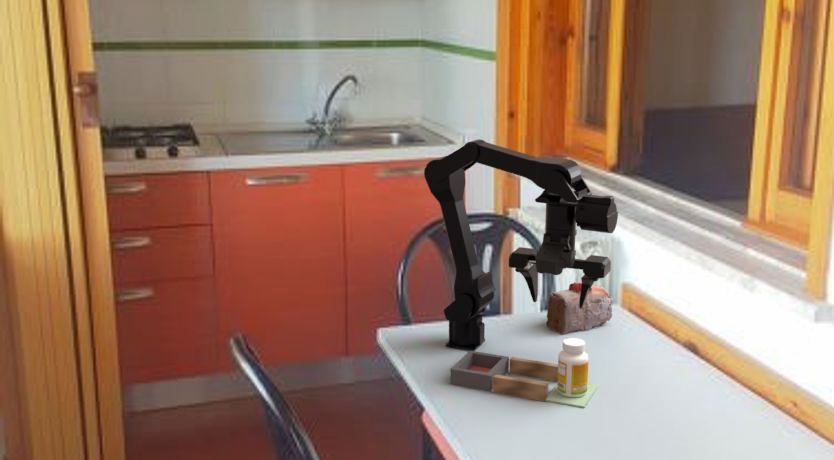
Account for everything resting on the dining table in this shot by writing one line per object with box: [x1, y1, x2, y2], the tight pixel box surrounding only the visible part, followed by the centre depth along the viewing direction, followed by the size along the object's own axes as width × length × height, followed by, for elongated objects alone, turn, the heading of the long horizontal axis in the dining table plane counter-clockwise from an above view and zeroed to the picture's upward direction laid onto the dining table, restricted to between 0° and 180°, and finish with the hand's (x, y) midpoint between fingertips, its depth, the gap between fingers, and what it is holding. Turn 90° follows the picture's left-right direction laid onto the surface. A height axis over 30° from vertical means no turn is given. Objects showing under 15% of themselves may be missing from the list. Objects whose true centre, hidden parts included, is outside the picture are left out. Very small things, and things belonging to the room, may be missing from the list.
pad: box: [545, 382, 599, 409], centre depth 169 cm, size 7×10×1 cm
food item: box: [545, 281, 614, 335], centre depth 202 cm, size 14×8×10 cm, turn 122°
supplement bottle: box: [556, 337, 589, 397], centre depth 168 cm, size 5×5×10 cm
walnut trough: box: [492, 356, 558, 402], centre depth 172 cm, size 10×10×3 cm
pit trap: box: [449, 350, 510, 392], centre depth 176 cm, size 8×10×3 cm
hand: (557, 304), depth 180 cm, fingers open, 9 cm apart
